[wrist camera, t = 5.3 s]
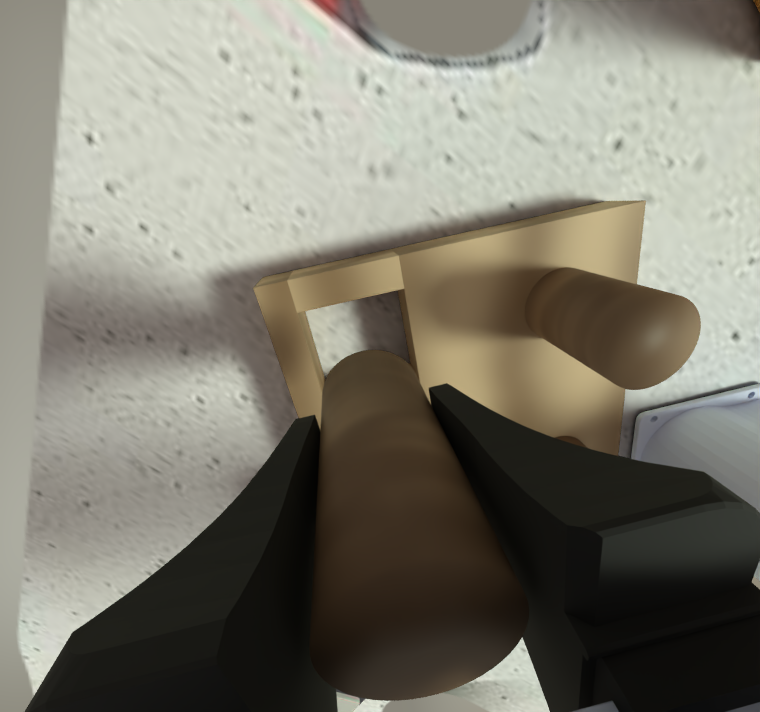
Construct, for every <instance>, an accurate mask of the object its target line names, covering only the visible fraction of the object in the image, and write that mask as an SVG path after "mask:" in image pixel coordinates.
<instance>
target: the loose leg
mask: <svg viewBox="0 0 760 712" xmlns="http://www.w3.org/2000/svg"><path fill="white" fill-rule="evenodd" d="M528 620H529V604H528V600H527V597H526V595H525V592H524V590H523V588H522V586H521V584H520V582H519V580H518V578H517V576H516V574H515V572H514V570H513V568H512V566H511V564H510V562H509V560H508V558H507V556H506V554H505V552H504V550H503V548H502V546H501V544H500V542H499V540H498V538H497V536H496V534H495V532H494V530H493V528H492V526H491V524H490V522H489V520H488V518H487V516H486V514H485V512H484V510H483V508H482V506H481V504H480V502H479V500H478V498H477V496H476V494H475V492H474V490H473V488H472V486H471V484H470V482H469V480H468V478H467V476H466V474H465V472H464V470H463V468H462V466H461V464H460V462H459V460H458V458H457V456H456V454H455V452H454V450H453V448H452V446H451V444H450V442H449V440H448V438H447V436H446V434H445V432H444V430H443V428H442V426H441V424H440V422H439V420H438V418H437V416H436V414H435V412H434V410H433V408H432V406H431V404H430V402H429V400H428V398H427V396H426V394H425V392H424V390H423V388H422V386H421V384H420V381H419V379H418V377H417V375H416V373H415V372H414V370H413V368H412V367H411V366H410V365H409V364H408V363H407V362H406V361H405V360H404V359H402V358H401V357H399V356H397V355H395V354H393V353H390V352H387V351H382V350H366V351H361V352H357V353H354V354H352V355H350V356H348V357H346V358H344V359H343V360H341V361H340V362H339V363H337V364H336V365H335V366H334V367H333V369H332V370H331V371H330V372H329V374H328V376H327V378H326V380H325V382H324V386H323V391H322V408H321V428H320V448H319V467H318V487H317V507H316V527H315V546H314V566H313V586H312V605H311V625H310V645H309V652H310V659H311V662H312V664H313V667H314V669H315V670H316V672H317V673H318V675H319V676H320V677H321V678H322V679H323V680H324V681H325V682H327V683H328V684H329V685H331V686H332V687H334V688H336V689H338V690H340V691H341V692H344V693H347V694H349V695H352V696H356V697H360V698H366V699H372V700H385V701H389V700H408V699H416V698H421V697H427V696H431V695H435V694H439V693H442V692H445V691H449V690H451V689H454V688H457V687H459V686H462V685H464V684H466V683H468V682H470V681H472V680H474V679H476V678H478V677H480V676H481V675H483V674H485V673H486V672H488V671H489V670H491V669H492V668H494V667H495V666H496V665H497V664H499V663H500V662H501V661H502V660H503V659H504V658H505V657H507V656H508V655H509V654H510V653H511V651H512V650H513V649H514V648H515V647H516V645H517V644H518V642H519V641H520V639H521V638H522V636H523V634H524V632H525V630H526V627H527V623H528Z"/></svg>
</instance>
